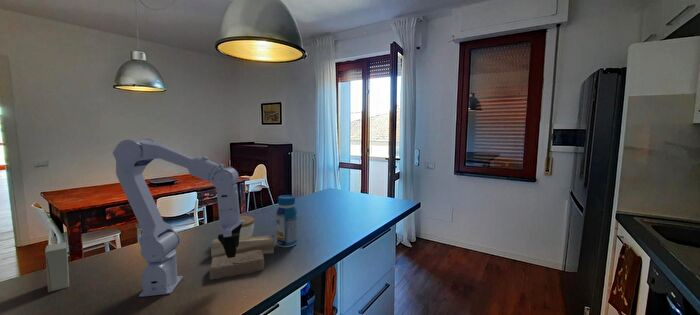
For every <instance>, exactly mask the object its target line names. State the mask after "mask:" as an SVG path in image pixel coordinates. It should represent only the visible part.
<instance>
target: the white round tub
mask: <svg viewBox="0 0 700 315" xmlns="http://www.w3.org/2000/svg"><path fill="white" fill-rule="evenodd" d="M240 220H245V223H244V224H242V227H241V230H240V236H239V238H242V237H252V236H253V234H254V229H255V218H254V217H252V216H248V215H240Z"/></svg>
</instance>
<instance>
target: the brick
mask: <svg viewBox="0 0 700 315" xmlns="http://www.w3.org/2000/svg"><path fill="white" fill-rule="evenodd" d="M264 258H265V257H264V254H263V253H262V250H254V251H249V252H245V253H240V254H236V255H235V257H232V258H227V256H226V255H224V256H219V257H214V258H211V262H210V267H209V280H218V279H222V278H228V277H234V276H239V275H244V274H245V275H246V274H251V273H255V272H258V271H263V270H264V268H265V259H264Z"/></svg>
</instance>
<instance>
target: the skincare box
mask: <svg viewBox="0 0 700 315" xmlns="http://www.w3.org/2000/svg"><path fill="white" fill-rule="evenodd" d="M44 250H45V252H44V253H45V256H44V257H45V266H46V267H45V268H46V283H47V293H51V292H55V291H58V290H62V289H66V288H69V287H70V273H69V270H70V269H69V254H68V252H69V251H68V242H67V241H64V242H59V243H58V242H57V243H54V244H47V245H46V247H45V249H44Z"/></svg>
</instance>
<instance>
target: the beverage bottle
mask: <svg viewBox="0 0 700 315" xmlns="http://www.w3.org/2000/svg"><path fill="white" fill-rule="evenodd" d="M277 198H278V199H277V204H278V208H277V210H276V216H277V217H276V219H275V221H276V244H277V245H276V246H278V247H281V248H290V247H294V246H295V245H297V243H298V216H297V213H298V211H297V209H296V206H295V204H296V196H294V195H292V194H284V195H283V194H282V195H280V196H278V197H277Z"/></svg>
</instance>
